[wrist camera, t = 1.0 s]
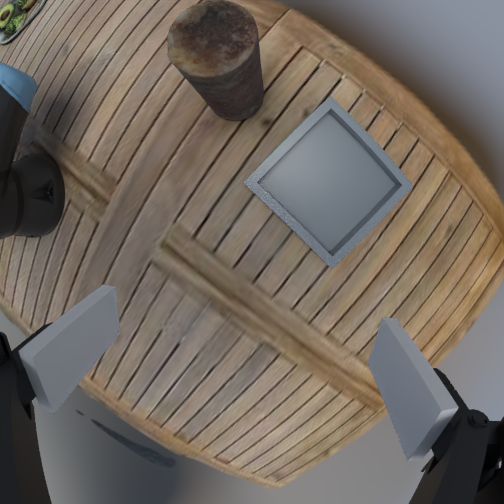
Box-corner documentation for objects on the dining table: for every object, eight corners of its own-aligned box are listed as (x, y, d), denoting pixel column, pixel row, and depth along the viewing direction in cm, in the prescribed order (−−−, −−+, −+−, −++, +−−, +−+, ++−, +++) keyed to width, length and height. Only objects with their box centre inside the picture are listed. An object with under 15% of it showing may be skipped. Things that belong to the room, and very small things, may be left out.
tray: (245, 182, 39) (243, 182, 36) (326, 101, 35) (330, 96, 32) (327, 262, 41) (331, 269, 38) (404, 184, 37) (413, 186, 34)
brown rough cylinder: (271, 79, 35) (267, 4, 16) (258, 127, 37) (242, 83, 18) (218, 70, 35) (173, -3, 16) (204, 116, 37) (143, 71, 18)
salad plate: (55, -35, 27) (45, -42, 23) (61, -3, 31) (49, -11, 26) (2, 15, 31) (-8, 11, 26) (3, 54, 34) (-9, 50, 30)
